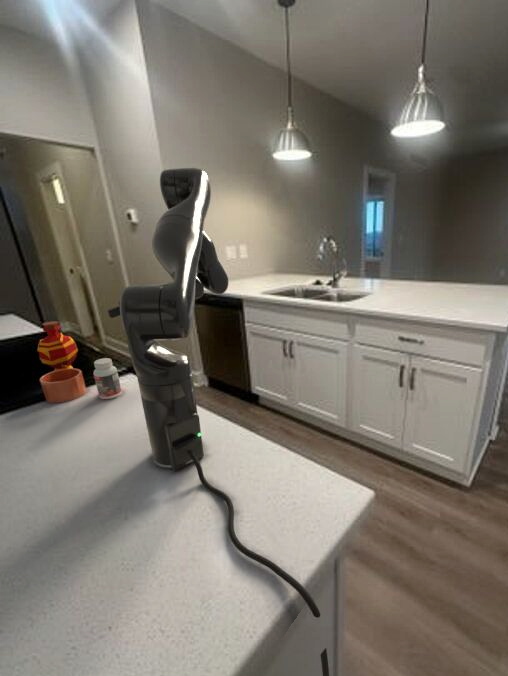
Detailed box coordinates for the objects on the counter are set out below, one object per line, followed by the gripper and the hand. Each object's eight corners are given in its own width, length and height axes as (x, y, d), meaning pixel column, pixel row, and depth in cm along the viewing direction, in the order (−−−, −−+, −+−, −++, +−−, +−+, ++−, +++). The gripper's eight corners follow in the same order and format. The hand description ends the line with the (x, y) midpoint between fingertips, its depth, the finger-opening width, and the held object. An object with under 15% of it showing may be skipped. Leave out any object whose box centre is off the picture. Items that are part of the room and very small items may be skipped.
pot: (91, 393, 92) (86, 375, 90) (50, 406, 86) (44, 386, 83) (80, 383, 98) (75, 365, 96) (41, 394, 91) (35, 375, 89)
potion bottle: (89, 367, 108) (77, 321, 102) (53, 379, 100) (38, 330, 94) (72, 361, 113) (60, 316, 107) (36, 371, 105) (21, 324, 99)
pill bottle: (95, 400, 89) (86, 365, 85) (104, 390, 93) (96, 357, 90) (117, 399, 89) (109, 364, 85) (125, 389, 94) (118, 356, 90)
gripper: (151, 280, 101) (98, 299, 89) (183, 287, 93) (129, 308, 82) (158, 304, 104) (108, 325, 93) (189, 313, 97) (139, 336, 86)
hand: (118, 317), depth 88 cm, fingers open, 8 cm apart
